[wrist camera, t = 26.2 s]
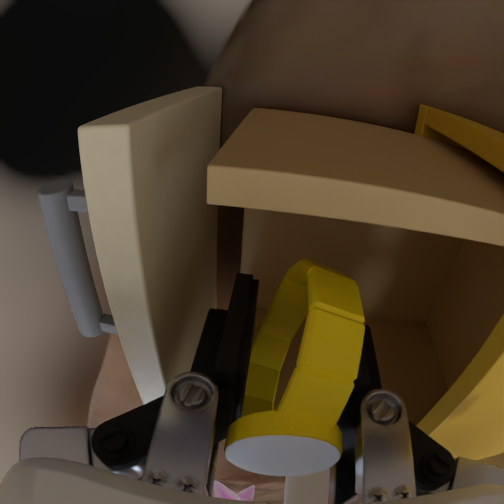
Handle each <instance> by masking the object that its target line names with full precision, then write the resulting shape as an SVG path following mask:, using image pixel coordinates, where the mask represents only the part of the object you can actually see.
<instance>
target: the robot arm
mask: <svg viewBox="0 0 504 504" xmlns="http://www.w3.org/2000/svg"><path fill="white" fill-rule="evenodd" d="M258 287H259V280H258V279H253V275H252V274H244V273H237V276H236V280H235V284H234V288H233V292H232V296H231V300H230V304H229V309H228V310H221V309H214V308H210V309H209V311H208V314H207V317H206V321H205V324H204V327H203V330H202V334H201V337H200V340H199V344H198V347H197V350H196V354H195V357H194V360H193V364H192V367H191V370H190V372H185V373H181V374H179V375H177V376H175V377H174V378H173V379H172V380H171V381H169V383H168V385H167V387H166V390H165V393H164V395H163V396H161V397H159V398H157V399H155V400H153V401H150V402H148V403H146V404H144V405H142V406H140V407H137V408H135V409H133V410H131V411H129V412H126V413H124V414H122V415H120V416H117V417H115V418H113V419H110V420H108V421H106V422H104V423H102V424H101V425H99V426H98V427H97V428H88V427H87V426H76V427H75V426H74V427H34V428H30V429H28V430H27V431H25V432H24V434H23V435H22V437H21V440H20V449H19V462H17V463H16V464H15V465H13V466H12V467H11V469H10V470H9V471H8V472H7V474H6V475H5V477H4V478H3V480H2V482H1V484H0V504H272V503H259V502H249V501H240V500H232V499H225V498H218V497H212V493H213V486H214V478H215V471H216V464H217V457H218V450H219V443H220V441H222V440H223V439H225V438H226V437H227V432H228V429H229V427H230V425H231V424H232V423H233V422H235V421H236V420H237V419H239V418H241V415H242V409H243V402H244V395H245V389H246V382H247V375H248V369H249V362H250V355H251V348H252V341H253V333H254V324H255V315H256V306H257V296H258ZM364 326H365V332H364V338H363V345H362V352H361V358H360V364H359V369H358V375H357V379H355V380H354V381H353V383H354V385H355V386H354V388H353V390H352V392H351V395H350V397H349V399H348V401H347V403H346V405H345V407H344V409H343V411H342V413H341V416H340V418H339V420H338V422H337V425H338V427H339V428H340V430H341V433H342V448H343V452H342V455H341V458H340V460H339V461H338V462H336V463H335V464H334V465H333V466H332V467H330V468H327V469H325V470H323V471H320V472H316V473H312V474H308V475H300V476H286V479H285V493H284V504H504V470H503V469H502V468H500V467H498V466H495V465H491V464H486V463H483V462H479V461H475V460H471V459H467V458H463V457H460V456H459V457H457V458H453V456H452V454H451V453H450V452H449V451H448V450H447V449H446V448H444V447H443V446H442V445H440V444H439V443H438V442H436V441H435V440H434V439H432V438H431V437H430V436H428V435H427V434H426V433H424V432H423V431H422V430H420V429H419V428H418V427H417V426H415V425H414V424H413V423H411V422H410V421H409V420H408V415H407V409H406V406H405V403H404V401H403V400H402V398H401V397H400V396H399V395H398V394H396V393H395V392H393V391H391V390H388V389H382V385H381V379H380V374H379V368H378V363H377V358H376V353H375V348H374V343H373V338H372V334H371V330H370V327H369V326H368V325H364Z"/></svg>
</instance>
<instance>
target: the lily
mask: <svg viewBox="0 0 504 504" xmlns="http://www.w3.org/2000/svg"><path fill="white" fill-rule="evenodd" d="M254 493H255V486H254V485H252V486H250V487H248V488H246V489H244V490H242V491H241V492H239V493H237V494H236V493H234V492H233V491H232V490H230V489H229V488H227V487H226V486H225V485H223V484H222V483H220V482H218V481H214V495H215V497H218V498H225V499H232V500H240V501H249V502H252V501H253V498H254Z"/></svg>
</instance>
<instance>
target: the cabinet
mask: <svg viewBox="0 0 504 504" xmlns="http://www.w3.org/2000/svg"><path fill="white" fill-rule="evenodd" d="M414 134H416V135H420V136H424V137H428V138H431V139H435V140H438V141H442V142H445V143H449V144H452V145H455V146H459V147H462V148H465V149H468V150H470V151H471V152H473V153H474V154H476V155H478V156H479V157H481V158H482V159H484V160H485V161H487V162H488V163H490V164H491V165H493V166H494V167H496V168H497V169H499V170H500V171H502V172H503V173H504V133H502V132H499V131H497V130H494V129H492V128H490V127H487V126H484V125H482V124H479V123H477V122H474V121H471V120H469V119H466V118H463V117H460V116H457V115H454V114H451V113H448V112H445V111H442V110H439V109H436V108H432V107H429V106H426V105H422V104H420V106H419V112H418V117H417V123H416V128H415V133H414ZM416 426H417V427H418V428H419V429H420V430H422V431H423V432H424V433H426V434H427V435H428V436H430V437H431V438H432V439H434V440H435V441H436V442H438V443H439V444H440V445H442V446H443V447H444V448H446V449H447V450H448V451H449V452H450V453H451V454H452V456H453V458H457V457H459V456H460V457H463V458H467V459H471V460H479V459H483V458H486V457H490V456H493V455H497V454H500V453H503V452H504V313H503V315H502V316H501V318H500V320H499V321H498V323H497V324H496V326H495V327H494V329H493V330H492V332H491V333H490V335H489V336H488V338H487V339H486V341H485V342H484V344H483V345H482V347H481V348H480V349H479V351H478V352H477V354H476V355H475V356H474V358H473V359H472V361H471V362H470V363H469V365H468V366H467V367H466V368H465V370H464V371H463V372H462V374H461V375H460V376H459V377H458V379H457V380H456V381H455V382H454V384H453V385H452V386H451V387H450V388H449V390H448V391H447V392H446V393H445V394H444V396H443V397H442V398H441V399H440V400H439V401H438V402H437V404H436V405H435V406H434V407H433V408H432V409H431V410H430V411H429V412H428V414H427V415H426V416H425V417H424V418H423V419H422V420H421V421H420V422H419V423H418V424H417V425H416Z"/></svg>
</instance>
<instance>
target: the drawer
mask: <svg viewBox="0 0 504 504" xmlns="http://www.w3.org/2000/svg"><path fill="white" fill-rule="evenodd" d="M221 103H222V88H221V87H194V88H190V89H186V90H182V91H179V92H175V93H172V94H169V95H165V96H162V97H159V98H156V99H153V100H149V101H146V102H143V103H140V104H137V105H134V106H131V107H128V108H125V109H123V110H120V111H117V112H115V113H112V114H109V115H107V116H104V117H102V118H99V119H96V120H94V121H91V122H89V123H87V124H84V125H82V126H80V127H79V128H78V139H79V150H80V159H81V167H82V175H83V182H84V188H85V190H74V188H73V183H72V182H71V181H70V180H58V181H53V182H51V183H48V184H46V185H44V186H42V187H41V188H40V189H39V190H38V197H39V202H40V207H41V211H42V215H43V219H44V224H45V228H46V232H47V235H48V239H49V242H50V246H51V250H52V253H53V257H54V260H55V263H56V267H57V270H58V273H59V276H60V279H61V282H62V285H63V288H64V291H65V294H66V297H67V300H68V302H69V305H70V308H71V310H72V313H73V315H74V318H75V321H76V323H77V326H78V328H79V331H80V333H82V335H84V336H87V337H95V336H98V335H99V334H101V333H102V332H103V331H104V332H108V333H112V334H117V335H118V336H119V339H120V342H121V345H122V348H123V351H124V354H125V357H126V360H127V362H128V365H129V368H130V371H131V374H132V376H133V379H134V382H135V384H136V387H137V390H138V392H139V395H140V397H141V400H142V402H143V405H144V404H146V403H148V402H150V401H153V400H155V399H157V398H159V397H161V396H163V395H164V393H165V390H166V387H167V385H168V383H169V381H171V380H172V379H173V378H174V377H175V376H177V375H179V374H181V373H185V372H190V370H191V367H192V364H193V360H194V357H195V354H196V350H197V347H198V344H199V340H200V337H201V334H202V330H203V327H204V324H205V321H206V317H207V314H208V311H209V309H210V308H214V309H217V216H218V205H223V206H233V207H242V208H244V221H243V237H242V253H241V269H240V273H244V274H252V275H253V279H258V280H259V287H258V296H257V306H256V315H255V324H254V333H253V337H254V334H255V331H256V329H257V325H258V324H260V322H261V320H262V318H263V317H264V315H265V313H266V311H267V309H268V307H269V305H270V303H271V301H272V300H273V298H274V296H275V294H276V292H277V290H278V288H279V286H280V284H281V282H282V280H283V278H284V276H285V274H286V272H287V270H289V269H290V268H291V267H292V266H293V265H295V264H296V263H297V262H298V261H299V260H302V259H308V260H310V261H313V262H316V263H318V264H321V265H323V266H326V267H329V268H331V269H334V270H336V271H339V272H341V273H343V274H345V275H346V276H348V277H349V278H351V279H353V280H354V281H355V282H356V284H357V286H358V289H359V294H360V298H361V303H362V308H363V313H364V318H365V322H364V323H363V324H364V325H368V326H369V327H370V330H371V334H372V338H373V343H374V348H375V353H376V358H377V363H378V368H379V374H380V379H381V385H382V389H388V390H391V391H393V392H395V393H396V394H398V395H399V396H400V397H401V398H402V400H403V401H404V403H405V406H406V409H407V415H408V420H409V421H410V422H411V423H413V424H414V425H415V426H416V425H417V424H418V423H419V422H420V421H421V420H422V419H423V418H424V417H425V416H426V415H427V414H428V412H429V411H430V410H431V409H432V408H433V407H434V406H435V405H436V404H437V402H438V401H439V400H440V399H441V398H442V397H443V396H444V394H445V393H446V392H447V391H448V390H449V388H450V387H451V386H452V385H453V384H454V382H455V381H456V380H457V379H458V377H459V376H460V375H461V374H462V372H463V371H464V370H465V368H466V367H467V366H468V365H469V363H470V362H471V361H472V359H473V358H474V356H475V355H476V354H477V352H478V351H479V349H480V348H481V347H482V345H483V344H484V342H485V341H486V339H487V338H488V336H489V335H490V333H491V332H492V330H493V329H494V327H495V326H496V324H497V323H498V321H499V320H500V318H501V316H502V315H503V313H504V173H503V172H502V171H500V170H499V169H497V168H496V167H494V166H493V165H491V164H490V163H488V162H487V161H485V160H484V159H482V158H481V157H479V156H478V155H476V154H474V153H473V152H471V151H470V150H468V149H465V148H462V147H459V146H455V145H452V144H449V143H445V142H442V141H438V140H435V139H431V138H428V137H424V136H420V135H416V134H412V133H408V132H404V131H400V130H396V129H391V128H387V127H382V126H377V125H373V124H368V123H362V122H357V121H352V120H346V119H340V118H334V117H328V116H322V115H315V114H308V113H300V112H292V111H283V110H274V109H263V108H253V109H252V110H251V111H250V112H249V114H248V115H247V116H246V117H245V119H244V120H243V121H242V122H241V124H240V125H239V126H238V127H237V128H236V130H235V131H234V132H233V133H232V135H231V136H230V137H229V139H228V140H227V141H226V142H225V144H224V145H223V146H222V147H221V149H220V150H219V148H220V124H221ZM78 211H80V212H88V213H89V219H90V225H91V230H92V235H93V239H94V244H95V249H96V253H97V258H98V262H99V267H100V271H101V275H102V279H103V283H104V287H105V291H106V294H107V298H108V302H109V305H110V309H111V312H112V315H108V314H103V312H102V308H101V306H100V302H99V298H98V295H97V291H96V288H95V284H94V281H93V277H92V273H91V269H90V265H89V261H88V258H87V253H86V249H85V244H84V240H83V235H82V231H81V226H80V221H79V216H78ZM306 319H307V317H306V318H305V320H304V321H303V323H302V325H301V326H300V328H299V329H298V331H297V332H296V334H295V336H294V337H293V339H292V340H291V343H290V346H289V349H288V352H287V355H286V358H285V360H284V363H283V366H282V369H281V371H279V372H280V376H279V381H278V386H277V390H276V395H275V400H274V402H273V404H274V410H277V408H278V406H279V404H280V401H281V399H282V397H283V395H284V392H285V390H286V388H287V385H288V383H289V381H290V378H291V376H292V374H293V371H294V369H295V368H296V367H297V365H296V363H297V359H298V354H299V350H300V346H301V341H302V337H303V333H304V328H305V324H306Z"/></svg>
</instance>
